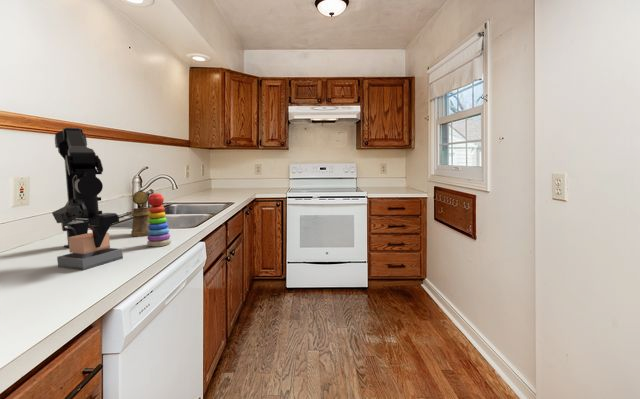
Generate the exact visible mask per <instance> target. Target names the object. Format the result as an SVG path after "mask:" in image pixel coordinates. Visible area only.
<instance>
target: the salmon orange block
mask: <svg viewBox="0 0 640 399" xmlns="http://www.w3.org/2000/svg"><path fill="white" fill-rule="evenodd" d="M68 239H69V247H68V248H69V254H70V253H79V254H87V253H90V252H94V251H98V250H102V249H106V248H111V244H110V240H111V239H110V233H109V232H107V233H106V235H105V237H104V239H103V241H102V244H101V246H100V247H98V248H96V246H95V243H94V237H93V232H88V233H87V234H82V235H77V236H72V237H68ZM68 239H67V240H68Z"/></svg>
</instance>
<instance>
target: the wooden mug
mask: <svg viewBox="0 0 640 399" xmlns="http://www.w3.org/2000/svg"><path fill="white" fill-rule="evenodd" d="M148 198H149V194H148V193H146V191H143V190H138V191H136V192H135V193H134V194H132V201H133V203H134V204H136V205H137V207H135V208H133V210H132V212H131V216H132V225H131V227H132V228H131V229H132V230H131V233H130V234H131V235H130V236H132V237H136V236H140V237H148V235H149V234H148V230H149V228H148V225H149V224H150V223H149V222H148V220H149V219H150V218H149V216H148V215H149V214H150V213H151V212H150V211H149V208H150V207H145V204H146V203H147V202H148Z"/></svg>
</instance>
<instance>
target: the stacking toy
mask: <svg viewBox="0 0 640 399" xmlns="http://www.w3.org/2000/svg"><path fill="white" fill-rule="evenodd" d="M164 201H165V199H164V196H163V195H162V194H160V193H157V192H153V193H152V194H149V195H148V201H147V202H148V204H149V207H148V208H149V211H150V212H151V213H150V214H149V215H148V216H149V218H150V219H149V220H148V222H149V223H150V224H149V225H148V228H149V230H148V234H149V235H148V236H146V237H147V238H146V239H147V243H146V244H147V246H149V247H152V248H153V247H154V248H155V247H156V248H157V247H164V246H168V245H170V244H172V238H171V234H170V228H169V224H168V222H167V221H168V220H167V218H166V212H165V206H163V204H164Z"/></svg>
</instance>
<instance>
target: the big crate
mask: <svg viewBox="0 0 640 399" xmlns="http://www.w3.org/2000/svg"><path fill="white" fill-rule="evenodd" d="M123 253H124V252H123V248H116V247H110V248H106V249H102V250H98V251H94V252H90V253H87V254H79V253H70V252H69V253H67V254H63V255H59V256H57V258H56V259H57V267H58V268H64V269H69V270H70V269H72V270H77V271H79V270H80V271H86V270H88V269H92V268H95V267H99V266H102V265H106V264H109V263H112V262H115V261H119V260H122V259H123V258H124V255H123Z"/></svg>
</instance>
